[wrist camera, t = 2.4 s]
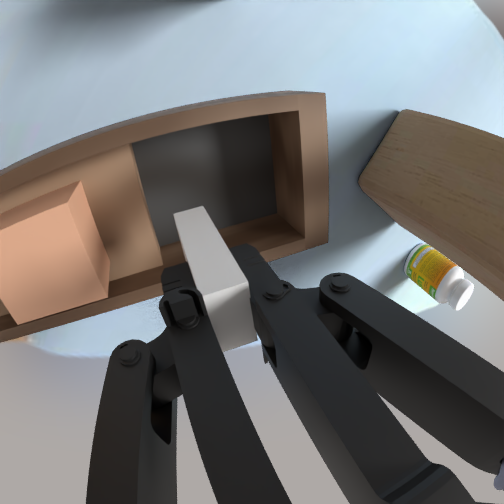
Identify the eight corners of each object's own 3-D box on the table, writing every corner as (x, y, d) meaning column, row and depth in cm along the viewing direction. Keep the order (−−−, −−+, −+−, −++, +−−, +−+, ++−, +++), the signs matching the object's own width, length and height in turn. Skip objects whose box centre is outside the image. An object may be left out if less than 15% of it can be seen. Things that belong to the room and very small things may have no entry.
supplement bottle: (398, 266, 36) (449, 309, 28) (421, 235, 35) (475, 273, 27) (409, 280, 39) (455, 319, 31) (431, 252, 38) (478, 288, 30)
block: (396, 224, 32) (530, 326, 16) (350, 182, 26) (537, 306, 10) (436, 158, 29) (576, 233, 13) (399, 103, 24) (589, 174, 8)
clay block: (-5, 216, 14) (-29, 244, 10) (80, 180, 15) (67, 202, 12) (30, 288, 17) (17, 324, 14) (110, 261, 19) (107, 297, 15)
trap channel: (-128, 264, 9) (-147, 289, 5) (288, 90, 20) (325, 92, 16) (-85, 339, 15) (-97, 367, 11) (296, 216, 26) (328, 242, 22)
